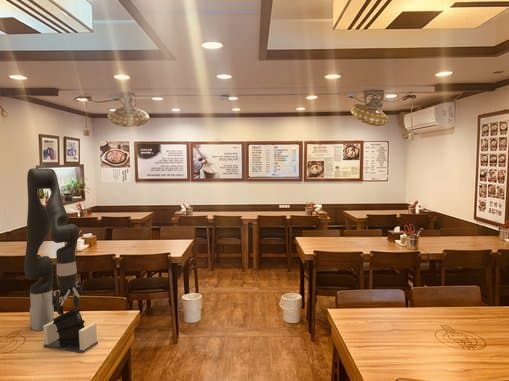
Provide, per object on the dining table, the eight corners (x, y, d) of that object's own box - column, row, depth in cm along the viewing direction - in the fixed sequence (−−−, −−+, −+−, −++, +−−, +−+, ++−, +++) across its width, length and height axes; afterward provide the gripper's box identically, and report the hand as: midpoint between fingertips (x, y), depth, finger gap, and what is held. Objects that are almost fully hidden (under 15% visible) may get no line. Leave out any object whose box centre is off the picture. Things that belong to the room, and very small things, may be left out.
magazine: (88, 342, 161) (72, 309, 161) (63, 353, 163) (47, 321, 163) (94, 338, 164) (78, 306, 164) (69, 349, 167) (54, 318, 167)
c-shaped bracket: (44, 344, 164) (43, 325, 163) (59, 336, 171) (58, 318, 171) (83, 350, 158) (82, 331, 157) (97, 341, 165) (96, 323, 165)
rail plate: (43, 347, 163) (43, 344, 163) (60, 337, 172) (60, 335, 172) (82, 353, 157) (82, 350, 157) (98, 343, 166) (97, 340, 166)
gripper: (72, 267, 170) (73, 303, 171) (45, 276, 156) (47, 315, 158) (86, 268, 168) (88, 305, 169) (60, 278, 154) (62, 318, 155)
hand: (68, 310), depth 163 cm, fingers open, 8 cm apart
